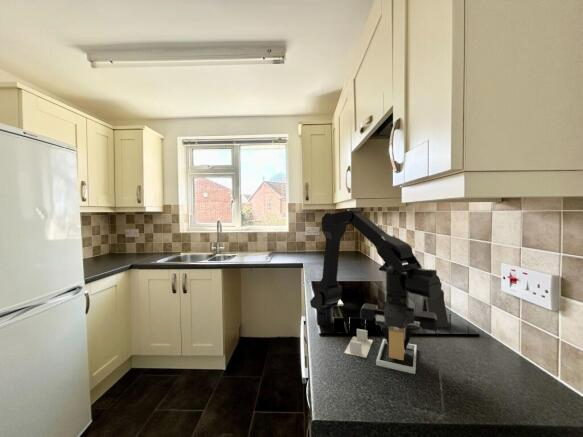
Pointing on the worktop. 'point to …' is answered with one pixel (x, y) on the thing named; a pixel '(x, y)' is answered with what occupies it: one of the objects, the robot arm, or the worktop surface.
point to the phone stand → (436, 309)
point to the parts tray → (394, 365)
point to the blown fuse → (396, 343)
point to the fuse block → (359, 344)
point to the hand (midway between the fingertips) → (397, 347)
